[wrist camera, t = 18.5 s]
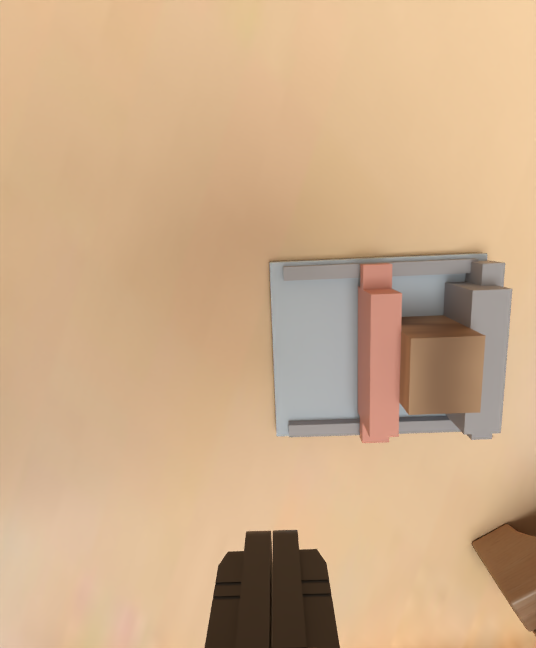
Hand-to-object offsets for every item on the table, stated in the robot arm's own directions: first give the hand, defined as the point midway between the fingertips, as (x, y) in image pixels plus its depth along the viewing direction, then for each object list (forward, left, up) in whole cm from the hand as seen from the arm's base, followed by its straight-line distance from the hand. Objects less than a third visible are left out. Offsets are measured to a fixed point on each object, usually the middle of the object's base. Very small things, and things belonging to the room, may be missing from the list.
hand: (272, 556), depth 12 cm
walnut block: (+11, 0, -21) cm, 24 cm away
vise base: (+8, 0, -22) cm, 23 cm away
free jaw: (+8, 0, -21) cm, 22 cm away
